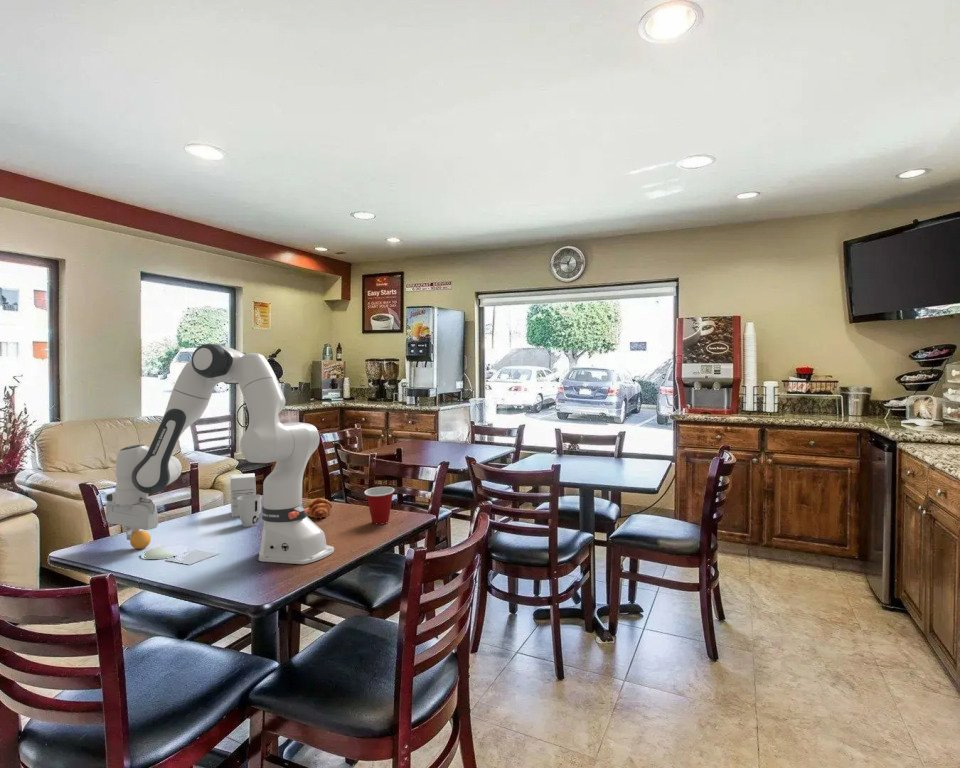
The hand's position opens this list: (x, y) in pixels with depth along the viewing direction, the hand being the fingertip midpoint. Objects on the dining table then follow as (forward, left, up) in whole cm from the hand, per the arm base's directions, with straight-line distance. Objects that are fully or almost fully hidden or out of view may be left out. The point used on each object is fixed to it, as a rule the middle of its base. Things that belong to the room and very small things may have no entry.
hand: (131, 539), depth 171 cm
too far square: (-27, 0, -2) cm, 27 cm away
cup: (-15, -33, -3) cm, 37 cm away
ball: (-4, 0, 0) cm, 4 cm away
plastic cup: (-58, -52, -3) cm, 78 cm away
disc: (-15, 0, -2) cm, 15 cm away
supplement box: (0, -44, -3) cm, 44 cm away
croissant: (-28, -54, -3) cm, 61 cm away
